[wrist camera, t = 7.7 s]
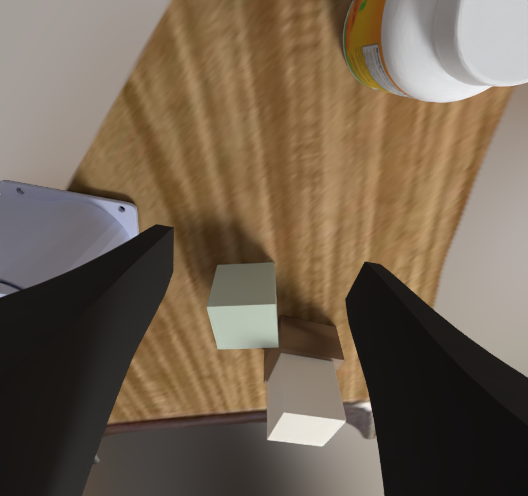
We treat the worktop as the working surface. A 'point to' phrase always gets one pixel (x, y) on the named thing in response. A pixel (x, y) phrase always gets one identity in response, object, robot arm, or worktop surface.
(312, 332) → the walnut block
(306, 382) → the cream cube
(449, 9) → the supplement bottle
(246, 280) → the sage cube
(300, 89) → the worktop surface
